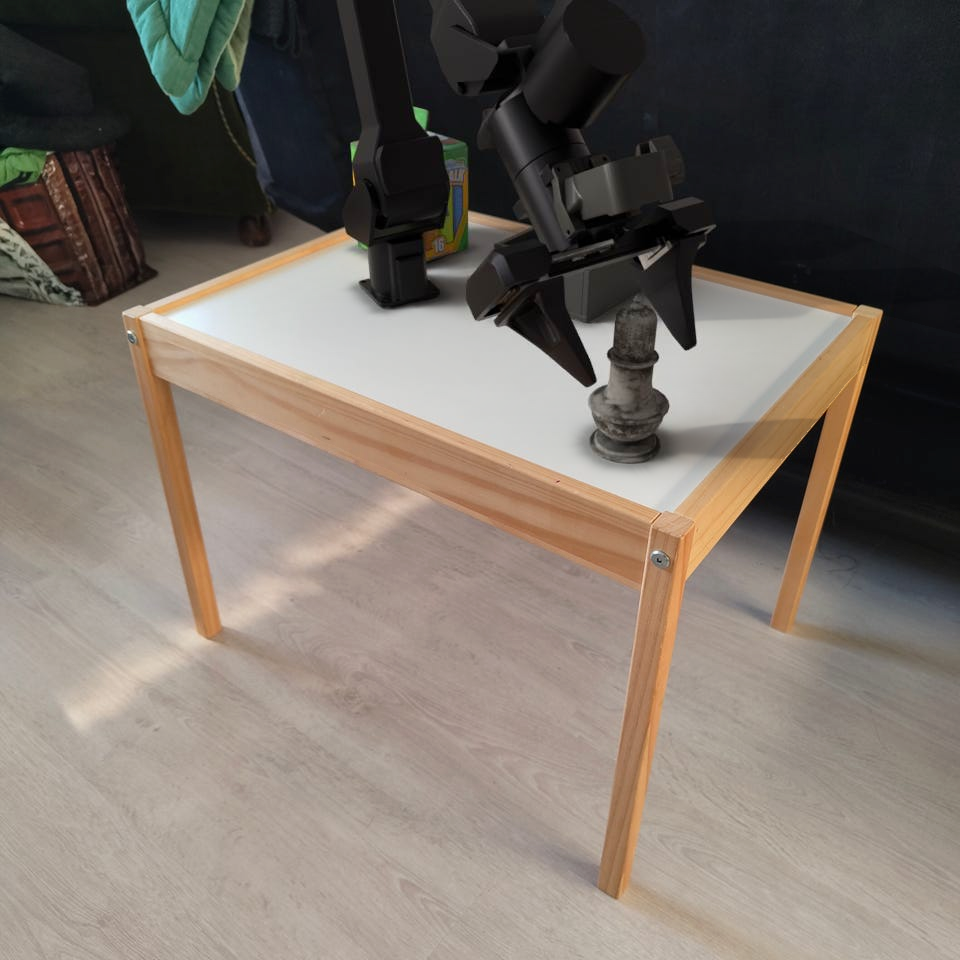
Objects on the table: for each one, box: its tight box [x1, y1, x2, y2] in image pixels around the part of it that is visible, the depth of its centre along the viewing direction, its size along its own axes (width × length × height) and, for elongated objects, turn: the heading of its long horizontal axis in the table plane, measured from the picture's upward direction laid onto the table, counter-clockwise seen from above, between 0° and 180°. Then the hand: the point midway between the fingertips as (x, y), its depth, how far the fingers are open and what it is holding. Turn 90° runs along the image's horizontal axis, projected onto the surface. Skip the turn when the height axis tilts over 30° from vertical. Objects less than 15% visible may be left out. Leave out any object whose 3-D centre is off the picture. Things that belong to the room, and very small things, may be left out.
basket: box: [493, 226, 643, 324], centre depth 89 cm, size 11×11×5 cm
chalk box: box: [350, 106, 470, 263], centre depth 96 cm, size 9×9×15 cm
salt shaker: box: [587, 293, 671, 464], centre depth 64 cm, size 6×6×12 cm
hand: (643, 366), depth 62 cm, fingers open, 9 cm apart
